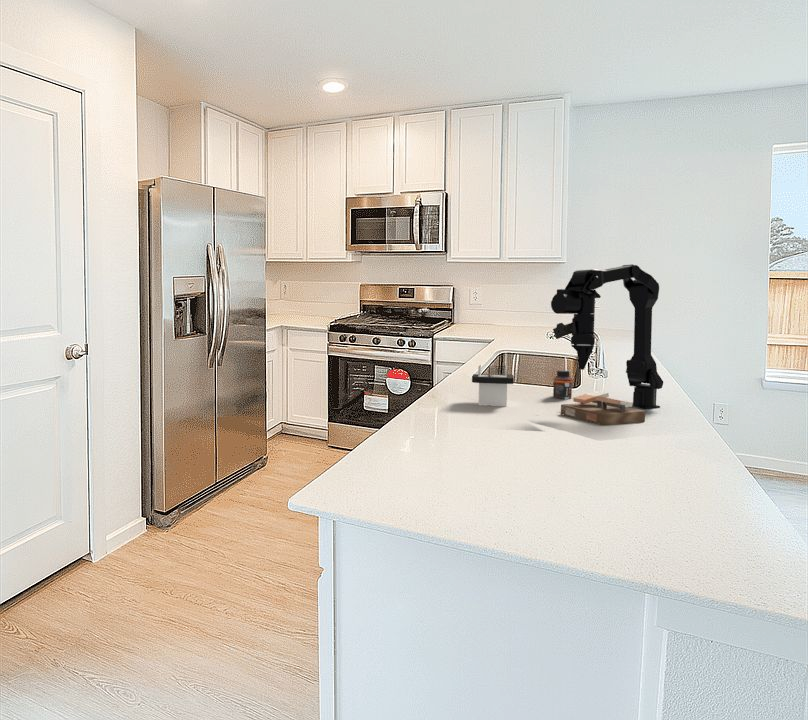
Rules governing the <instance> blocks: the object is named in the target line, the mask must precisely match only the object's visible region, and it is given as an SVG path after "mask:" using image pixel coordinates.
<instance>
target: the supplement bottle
mask: <svg viewBox="0 0 808 720" xmlns="http://www.w3.org/2000/svg"><path fill="white" fill-rule="evenodd" d="M572 389H573V379H572V377H570V371H569V370H566V369H565V370H564V369H563V370H562V369H561V370H557V371H556V376H554V378H553V390H552V398H554V399H556V400H557V399H558V400H572V397H573V394H572V393H573V390H572Z"/></svg>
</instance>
